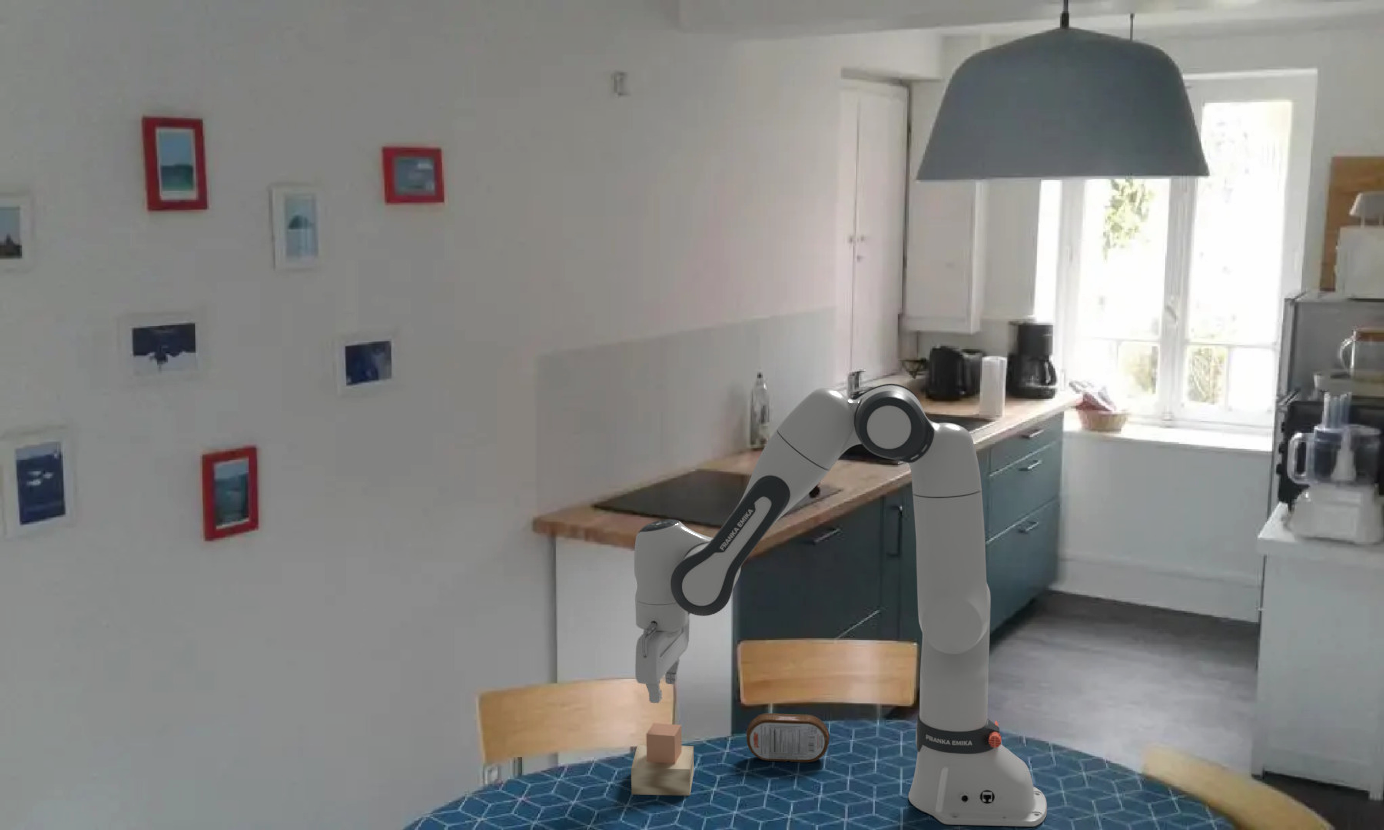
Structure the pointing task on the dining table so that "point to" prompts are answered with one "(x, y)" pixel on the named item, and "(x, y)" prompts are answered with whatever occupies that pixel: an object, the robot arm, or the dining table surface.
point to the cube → (664, 743)
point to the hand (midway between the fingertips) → (663, 692)
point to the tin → (787, 737)
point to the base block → (662, 774)
